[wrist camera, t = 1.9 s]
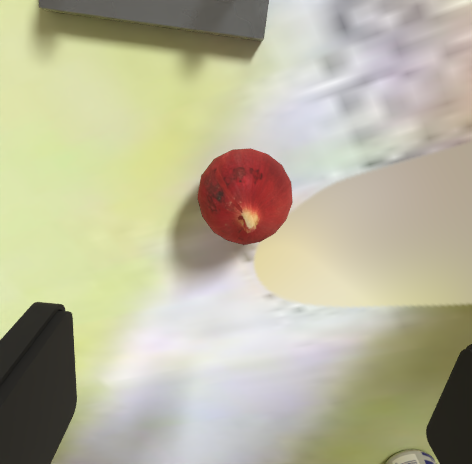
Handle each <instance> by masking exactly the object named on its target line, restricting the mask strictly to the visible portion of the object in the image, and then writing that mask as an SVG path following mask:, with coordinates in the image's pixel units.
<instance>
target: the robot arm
mask: <svg viewBox="0 0 472 464" xmlns="http://www.w3.org/2000/svg"><path fill="white" fill-rule="evenodd" d="M76 402H77V393H76V374H75V355H74V336H73V318H72V313H71V312H68V311H65V308H64V306H63V305H62V304H53V303H42V302H36V303H34V304H33V305H31V307H30V308H29V309H28V310H27V311H26V312H25V313H24V314H23V316H22V317H21V318H20V319H19V320H18V321H17V322H16V323H15V324H14V326H13V327H12V328H11V329H10V330H9V331H8V332H7V333H6V335H5V336H4V337H3V338H2V339H1V340H0V464H51V461H52V459H53V457H54V455H55V453H56V451H57V449H58V447H59V445H60V442H61V440H62V438H63V436H64V434H65V432H66V430H67V428H68V425H69V423H70V421H71V419H72V417H73V414H74V412H75V408H76ZM426 435H427V440H428V442H429V445H430V447H431V448H432V450H433V452H434V454H435V456H436V457H437V459H438V461H439V463H440V464H472V344H471V345H469V346H468V347H467V348H466V349H464V350H463V351H461V353H460V355H459V357H458V359H457V361H456V363H455V366H454V368H453V370H452V372H451V375H450V377H449V379H448V381H447V383H446V386H445V388H444V390H443V392H442V395H441V397H440V399H439V401H438V403H437V406H436V408H435V410H434V412H433V415H432V417H431V419H430V421H429V423H428V426H427V429H426Z"/></svg>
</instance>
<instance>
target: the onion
mask: <svg viewBox="0 0 472 464" xmlns="http://www.w3.org/2000/svg"><path fill="white" fill-rule="evenodd" d="M198 202H199V206H200V209H201V213H202V216H203V218H204V219H205V221H206V222H207V224H208V225H209V226H210V228H211V229H212V230H213V232H214V233H216V234H218V235H219V236H221V237H223V238H224V239H226V240H228V241H231V242H235V243H239V244H243V245H246V244H251V243H256V242H261V241H262V240H264V239H266V238H267V237H269V236H271V235H273V234H274V233H276V231H277V230H278V229H279V228H280V226H281V225H282V224H283V223H284V222H285V221H286V219H287V216H288V213H289V211H290V208H291V205H292V188H291V181H290V179H289V177H288V176H287V174H286V172H285V170H284V168H283V166H282V165H281V164H280V163H278V162H277V161H276V160H275V159H273V158H272V157H271V156H269V155H268V154H265V153H262V152H259V151H256V150H253V149H237V150H231V151H229V152H227V153H225V154H223V155H221V156H219V157H217V158H215V159H214V160H213V161H212V163H211V164H210V165H209V166H208V168H207V169H206V170H205V172H204V173H203V174H202V176H201V180H200V186H199V191H198Z"/></svg>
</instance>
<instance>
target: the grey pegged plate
mask: <svg viewBox="0 0 472 464" xmlns="http://www.w3.org/2000/svg"><path fill="white" fill-rule="evenodd" d="M268 4H269V0H39V8H42V9H45V10H47V11H51V12H58V13H66V14H73V15H80V16H87V17H94V18H101V19H108V20H115V21H122V22H129V23H137V24H144V25H151V26H158V27H165V28H172V29H179V30H186V31H193V32H200V33H207V34H215V35H222V36H229V37H236V38H243V39H250V40H257V41H263V39H264V33H265V26H266V18H267V11H268Z"/></svg>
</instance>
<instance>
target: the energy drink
mask: <svg viewBox="0 0 472 464" xmlns="http://www.w3.org/2000/svg"><path fill="white" fill-rule="evenodd" d="M386 464H436V462H435V460H434V459H433V457H432V456H430V455H429V454H427V453H425V452H423V451H420V450H413V449H411V450H404V451H401V452H398V453H396V454H394V455H393V456H391V457H390V458H389V459H388V460H387V462H386Z"/></svg>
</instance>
